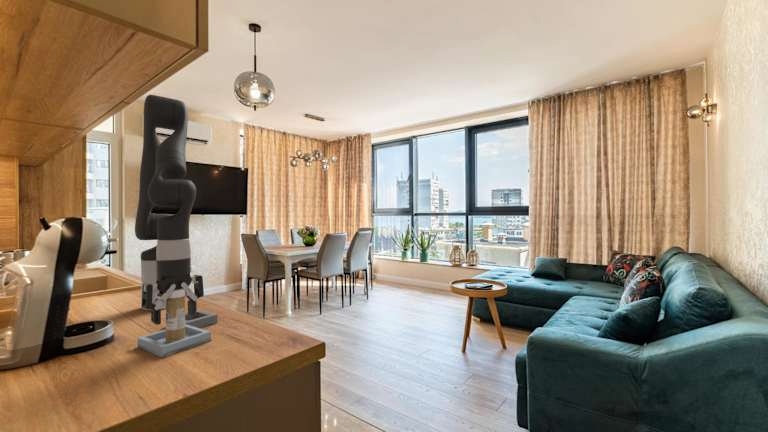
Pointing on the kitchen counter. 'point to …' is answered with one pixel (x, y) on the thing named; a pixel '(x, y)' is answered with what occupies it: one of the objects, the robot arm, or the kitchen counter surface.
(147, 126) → the robot arm
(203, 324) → the holder
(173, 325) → the sprinkles bottle
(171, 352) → the tray
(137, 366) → the kitchen counter surface
